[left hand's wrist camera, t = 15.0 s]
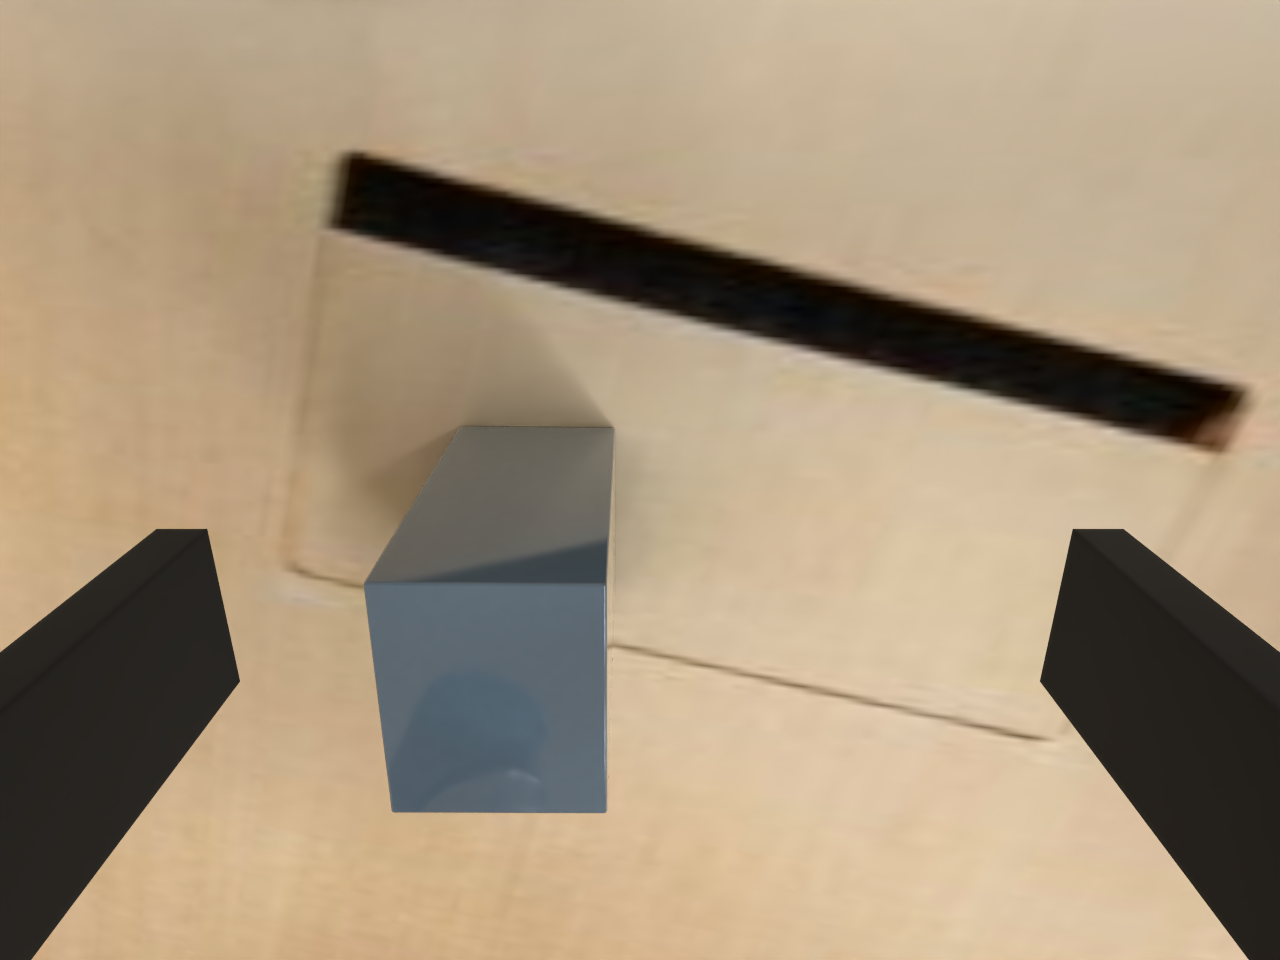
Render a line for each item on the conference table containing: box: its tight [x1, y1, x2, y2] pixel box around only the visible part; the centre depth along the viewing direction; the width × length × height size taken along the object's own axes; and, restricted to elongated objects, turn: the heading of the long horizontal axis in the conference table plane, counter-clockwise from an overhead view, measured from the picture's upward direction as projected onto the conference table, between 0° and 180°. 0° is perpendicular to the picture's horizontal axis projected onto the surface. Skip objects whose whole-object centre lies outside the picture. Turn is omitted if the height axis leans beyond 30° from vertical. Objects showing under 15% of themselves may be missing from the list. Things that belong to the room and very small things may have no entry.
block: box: [364, 426, 615, 813], centre depth 25 cm, size 7×6×11 cm
